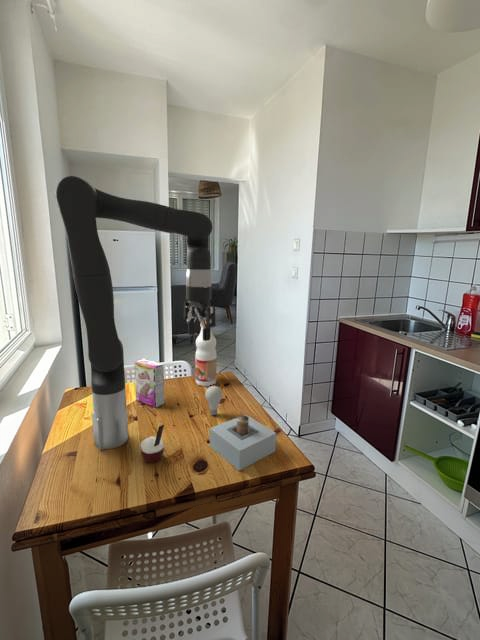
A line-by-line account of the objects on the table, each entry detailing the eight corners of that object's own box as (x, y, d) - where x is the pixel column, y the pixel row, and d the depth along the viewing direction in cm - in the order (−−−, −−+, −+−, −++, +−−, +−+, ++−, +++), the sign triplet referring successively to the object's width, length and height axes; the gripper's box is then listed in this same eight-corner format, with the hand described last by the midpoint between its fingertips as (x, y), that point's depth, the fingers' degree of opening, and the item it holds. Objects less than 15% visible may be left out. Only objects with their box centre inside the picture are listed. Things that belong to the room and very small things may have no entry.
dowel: (241, 453, 93) (242, 422, 91) (233, 447, 95) (234, 417, 93) (250, 449, 95) (251, 418, 93) (242, 443, 97) (243, 414, 95)
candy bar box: (135, 401, 124) (133, 361, 120) (145, 396, 128) (143, 357, 125) (155, 408, 118) (154, 367, 115) (165, 403, 122) (164, 363, 119)
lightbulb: (225, 413, 116) (225, 385, 114) (217, 420, 111) (217, 391, 108) (210, 409, 118) (210, 381, 116) (202, 416, 113) (201, 388, 111)
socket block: (239, 470, 85) (239, 450, 84) (209, 446, 96) (209, 427, 94) (275, 451, 94) (276, 432, 93) (244, 430, 104) (245, 413, 103)
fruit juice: (217, 386, 139) (217, 324, 133) (195, 387, 137) (195, 324, 132) (215, 378, 148) (215, 320, 142) (195, 379, 147) (194, 320, 141)
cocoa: (139, 454, 92) (136, 415, 90) (161, 448, 95) (158, 410, 93) (145, 472, 84) (141, 431, 81) (168, 465, 86) (165, 425, 84)
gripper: (175, 283, 97) (176, 334, 100) (201, 287, 86) (201, 344, 89) (196, 282, 102) (196, 331, 105) (223, 286, 91) (222, 340, 94)
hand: (198, 337), depth 97 cm, fingers open, 8 cm apart
